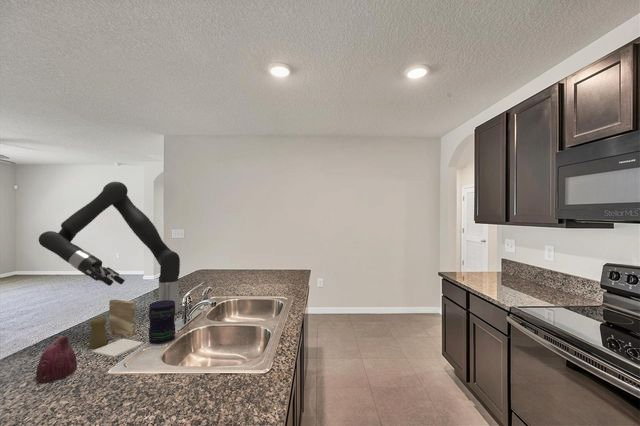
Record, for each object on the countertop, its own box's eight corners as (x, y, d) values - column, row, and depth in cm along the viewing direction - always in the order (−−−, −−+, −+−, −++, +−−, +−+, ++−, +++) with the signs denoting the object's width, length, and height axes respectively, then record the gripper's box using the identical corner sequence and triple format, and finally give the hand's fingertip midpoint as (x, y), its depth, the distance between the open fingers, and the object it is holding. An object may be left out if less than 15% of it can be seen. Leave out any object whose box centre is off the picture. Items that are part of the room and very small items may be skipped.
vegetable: (81, 378, 98) (95, 335, 99) (44, 391, 89) (60, 343, 90) (63, 365, 102) (76, 323, 103) (25, 376, 92) (41, 330, 93)
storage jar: (143, 341, 120) (143, 304, 121) (165, 332, 129) (165, 299, 129) (158, 346, 116) (158, 308, 116) (180, 337, 125) (180, 302, 125)
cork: (111, 342, 119) (111, 315, 119) (98, 349, 113) (99, 320, 113) (97, 342, 120) (98, 315, 120) (84, 348, 114) (84, 320, 114)
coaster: (122, 340, 122) (122, 338, 122) (144, 344, 118) (144, 342, 118) (91, 352, 110) (91, 351, 110) (114, 357, 106) (114, 355, 106)
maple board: (115, 329, 133) (116, 298, 133) (137, 333, 128) (137, 301, 129) (106, 333, 129) (107, 301, 129) (128, 337, 125) (128, 304, 125)
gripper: (80, 254, 118) (114, 276, 118) (101, 255, 132) (132, 274, 132) (67, 270, 117) (101, 292, 117) (90, 269, 131) (121, 289, 131)
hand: (117, 283), depth 125 cm, fingers open, 8 cm apart
